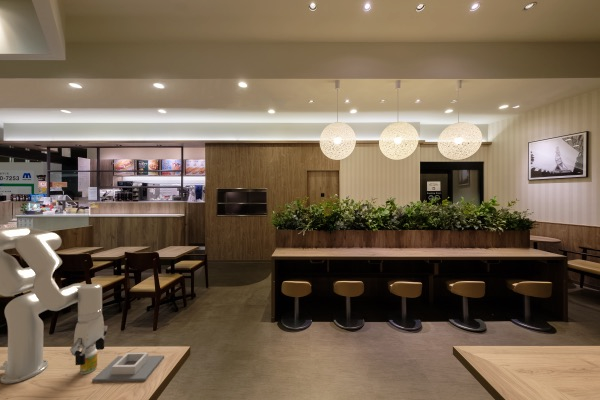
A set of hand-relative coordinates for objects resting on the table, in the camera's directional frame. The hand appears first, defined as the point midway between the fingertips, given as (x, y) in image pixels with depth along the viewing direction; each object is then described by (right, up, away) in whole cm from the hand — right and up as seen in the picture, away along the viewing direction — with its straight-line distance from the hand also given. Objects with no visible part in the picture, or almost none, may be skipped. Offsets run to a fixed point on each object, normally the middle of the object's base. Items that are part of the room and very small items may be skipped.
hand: (90, 356), depth 99 cm
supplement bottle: (-1, -6, 0) cm, 6 cm away
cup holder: (+16, -6, +1) cm, 17 cm away
